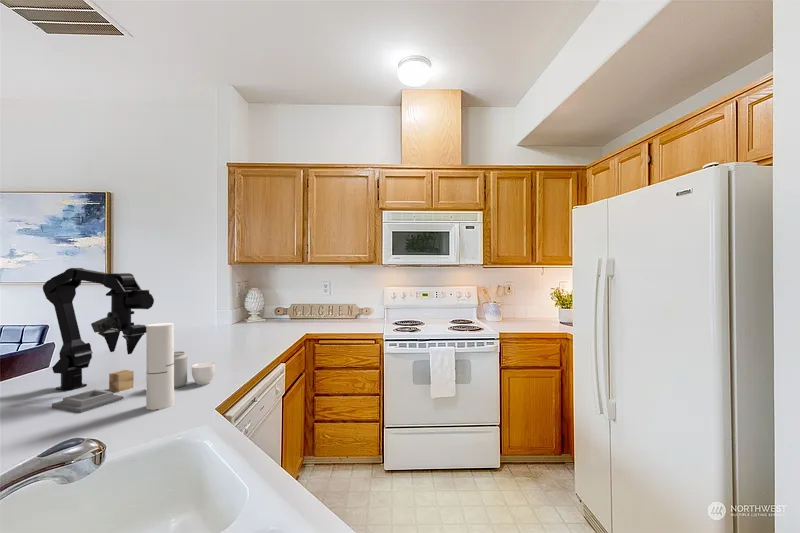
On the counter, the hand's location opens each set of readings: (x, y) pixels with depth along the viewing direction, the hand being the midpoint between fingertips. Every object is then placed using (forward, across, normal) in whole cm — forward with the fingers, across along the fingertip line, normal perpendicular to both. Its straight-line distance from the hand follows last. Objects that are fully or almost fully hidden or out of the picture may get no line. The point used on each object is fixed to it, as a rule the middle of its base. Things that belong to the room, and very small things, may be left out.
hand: (120, 353), depth 131 cm
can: (+13, +15, +9) cm, 22 cm away
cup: (+13, +21, +15) cm, 29 cm away
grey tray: (+13, +5, -13) cm, 19 cm away
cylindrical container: (+13, +29, -7) cm, 32 cm away
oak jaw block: (+13, 0, 0) cm, 13 cm away
